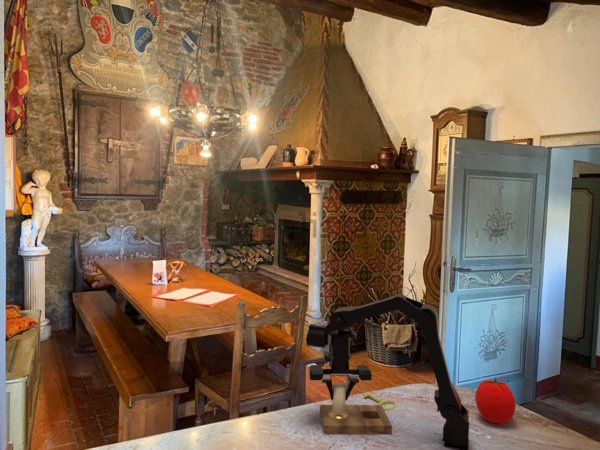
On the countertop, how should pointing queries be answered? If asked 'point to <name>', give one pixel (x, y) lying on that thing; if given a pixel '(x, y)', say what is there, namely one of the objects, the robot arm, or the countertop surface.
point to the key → (382, 401)
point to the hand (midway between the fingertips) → (339, 399)
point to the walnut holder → (356, 420)
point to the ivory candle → (339, 398)
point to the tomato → (495, 401)
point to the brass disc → (338, 415)
